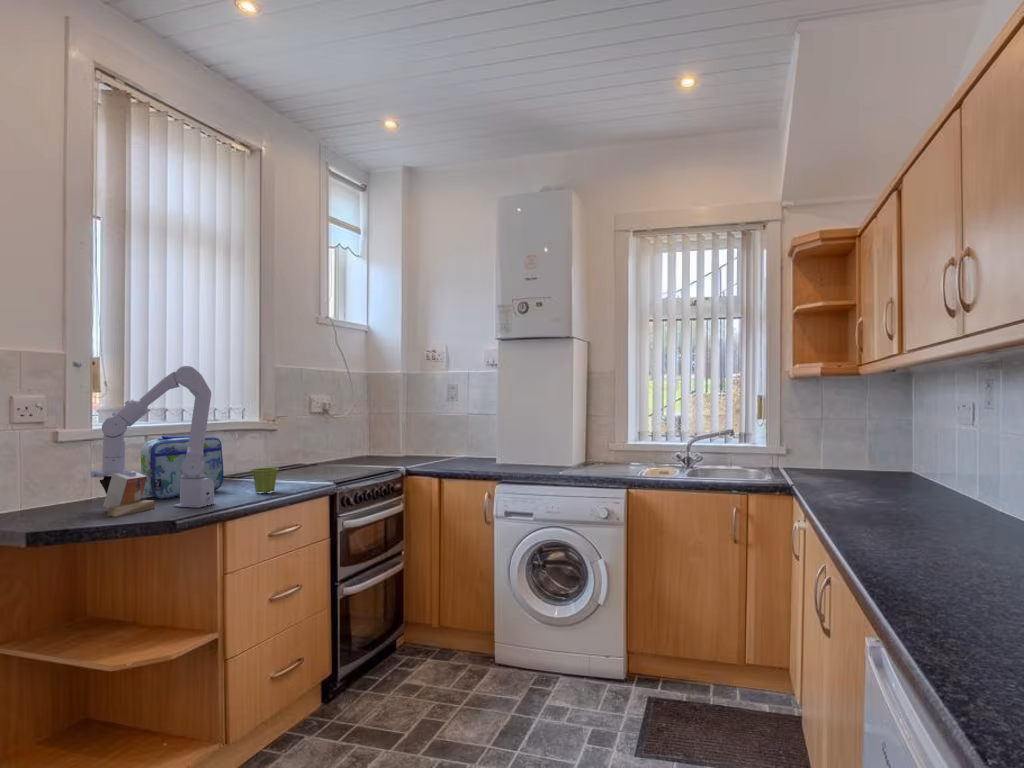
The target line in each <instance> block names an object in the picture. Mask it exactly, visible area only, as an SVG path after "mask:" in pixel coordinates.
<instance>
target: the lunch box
mask: <svg viewBox="0 0 1024 768" xmlns="http://www.w3.org/2000/svg"><path fill="white" fill-rule="evenodd" d="M189 436H190V435H181V436H174V435H173V436H172V435H171V436H170V435H169V436H167V435H166V436H165V435H161V438H157V439H151V440H148V441H146V442H145V443H144V444H143V446H142V447H141V450H140V474H142V475H145V476H147V479H146V483H145V486H144V490H143V493H142V494H143V495H145V496H149V497H150V496H151V497H155V498H158V499H160V500H164V499H163V498H166V499H170V498H176V497H175V496H178V497H180V476H182V475H184V474H183V473H182V470H181V465H182V463H183V461H184V460H185V458H186V454H187V449H188V443H189ZM222 447H223V446H222V442H221V439H219V438H218V437H215V436H214V437H212V436H205V442H204V449H203V460H204V462H205V466H204V469H203V471H202V472H203V473H204V474H206V476H205V477H206V478H210V479H212V480H213V482H214V491H218V490H219V489H220V488H221V487H222V484H223V482H224V461H223V451H222V450H223V448H222Z"/></svg>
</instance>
